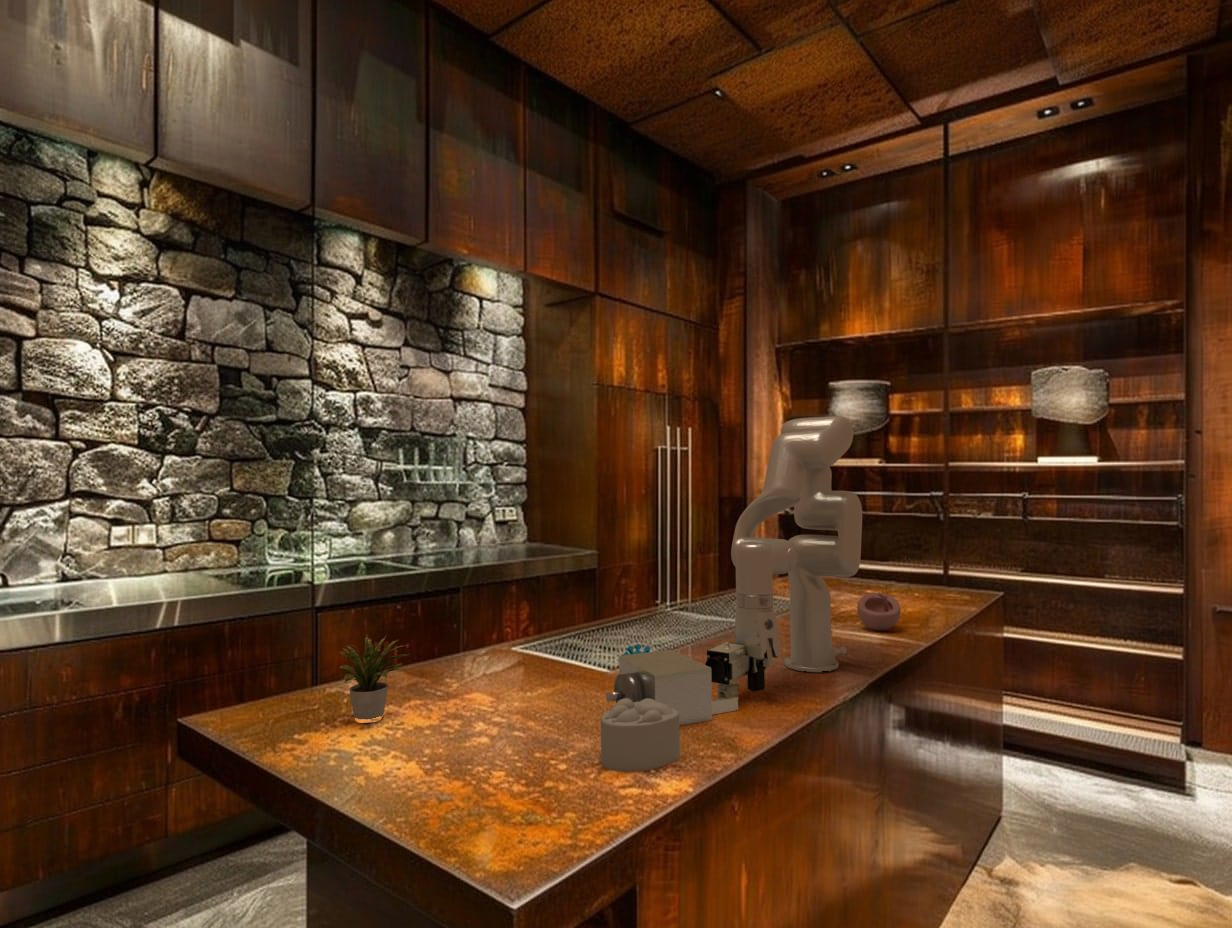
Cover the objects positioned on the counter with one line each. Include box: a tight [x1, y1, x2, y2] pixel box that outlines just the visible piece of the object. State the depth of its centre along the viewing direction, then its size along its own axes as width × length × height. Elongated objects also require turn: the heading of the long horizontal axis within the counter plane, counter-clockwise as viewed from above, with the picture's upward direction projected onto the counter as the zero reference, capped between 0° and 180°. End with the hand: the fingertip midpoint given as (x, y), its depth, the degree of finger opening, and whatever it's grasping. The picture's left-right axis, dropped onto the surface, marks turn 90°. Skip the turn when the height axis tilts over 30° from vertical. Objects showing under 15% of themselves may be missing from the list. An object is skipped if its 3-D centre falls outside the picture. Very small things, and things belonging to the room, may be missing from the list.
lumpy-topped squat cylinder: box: [600, 698, 681, 773], centre depth 116 cm, size 10×13×9 cm
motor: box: [605, 649, 739, 727], centre depth 138 cm, size 26×16×10 cm, turn 114°
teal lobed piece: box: [622, 643, 652, 656], centre depth 162 cm, size 11×6×10 cm
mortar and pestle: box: [857, 592, 901, 632], centre depth 209 cm, size 12×12×12 cm
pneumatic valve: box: [704, 641, 750, 700], centre depth 144 cm, size 6×12×12 cm, turn 145°
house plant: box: [335, 633, 411, 719], centre depth 135 cm, size 14×14×16 cm
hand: (756, 689), depth 147 cm, fingers closed
